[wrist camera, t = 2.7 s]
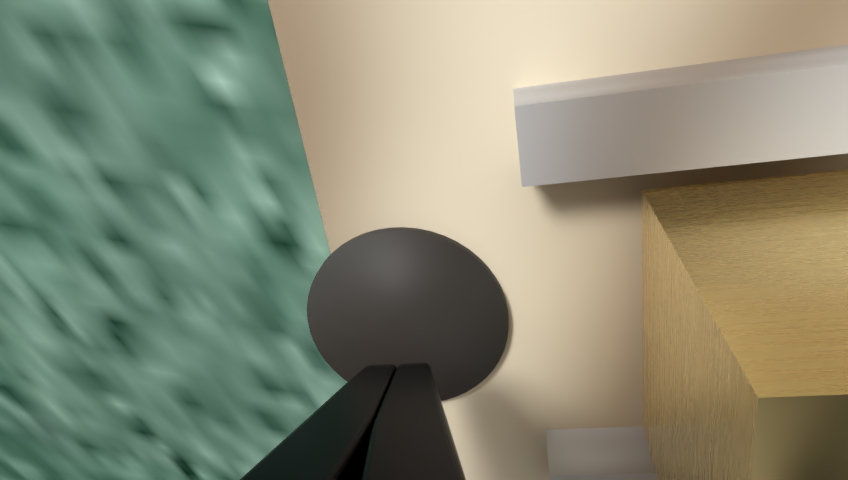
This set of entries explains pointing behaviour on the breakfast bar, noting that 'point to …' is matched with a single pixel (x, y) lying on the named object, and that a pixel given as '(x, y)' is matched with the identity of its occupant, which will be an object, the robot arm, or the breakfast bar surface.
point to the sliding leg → (747, 328)
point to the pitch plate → (536, 190)
